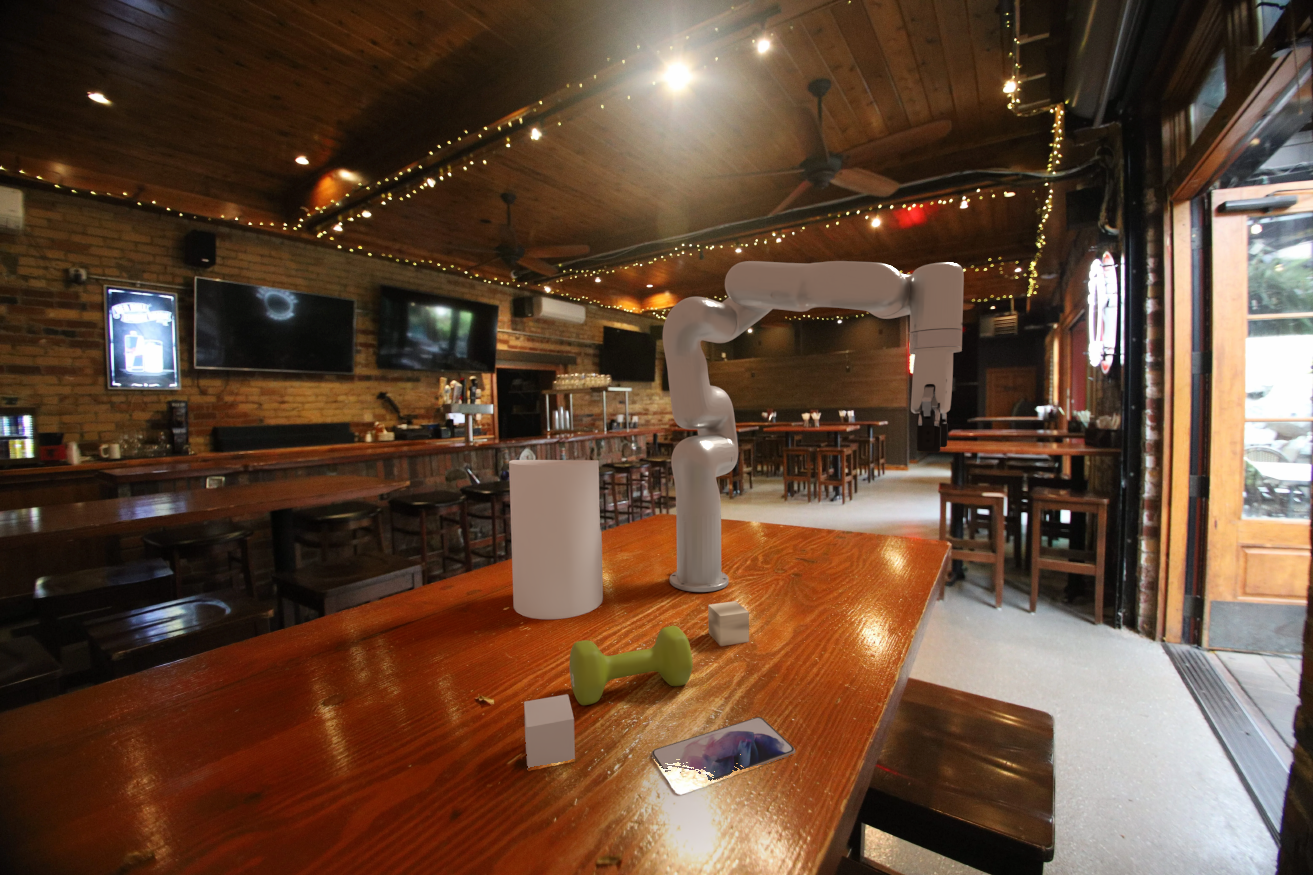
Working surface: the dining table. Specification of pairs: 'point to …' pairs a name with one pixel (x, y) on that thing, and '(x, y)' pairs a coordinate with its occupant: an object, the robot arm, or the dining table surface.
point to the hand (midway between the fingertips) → (932, 449)
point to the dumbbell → (629, 664)
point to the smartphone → (727, 749)
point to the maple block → (728, 623)
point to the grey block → (549, 730)
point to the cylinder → (555, 537)
